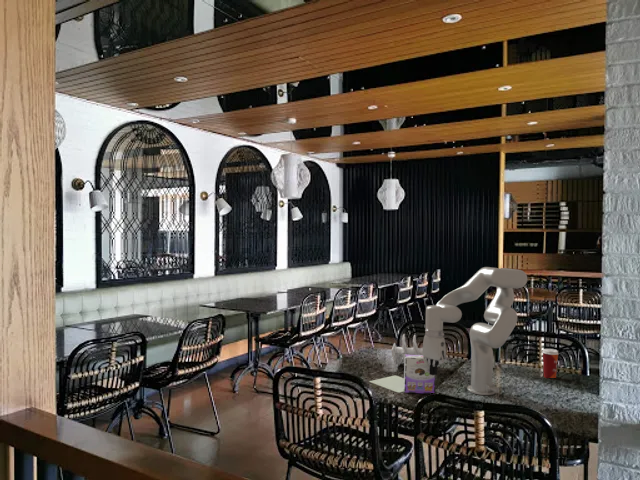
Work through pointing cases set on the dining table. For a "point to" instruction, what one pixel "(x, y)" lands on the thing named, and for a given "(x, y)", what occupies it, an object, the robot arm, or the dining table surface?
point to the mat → (391, 383)
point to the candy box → (418, 375)
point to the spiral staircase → (405, 350)
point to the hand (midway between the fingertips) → (433, 374)
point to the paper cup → (550, 362)
